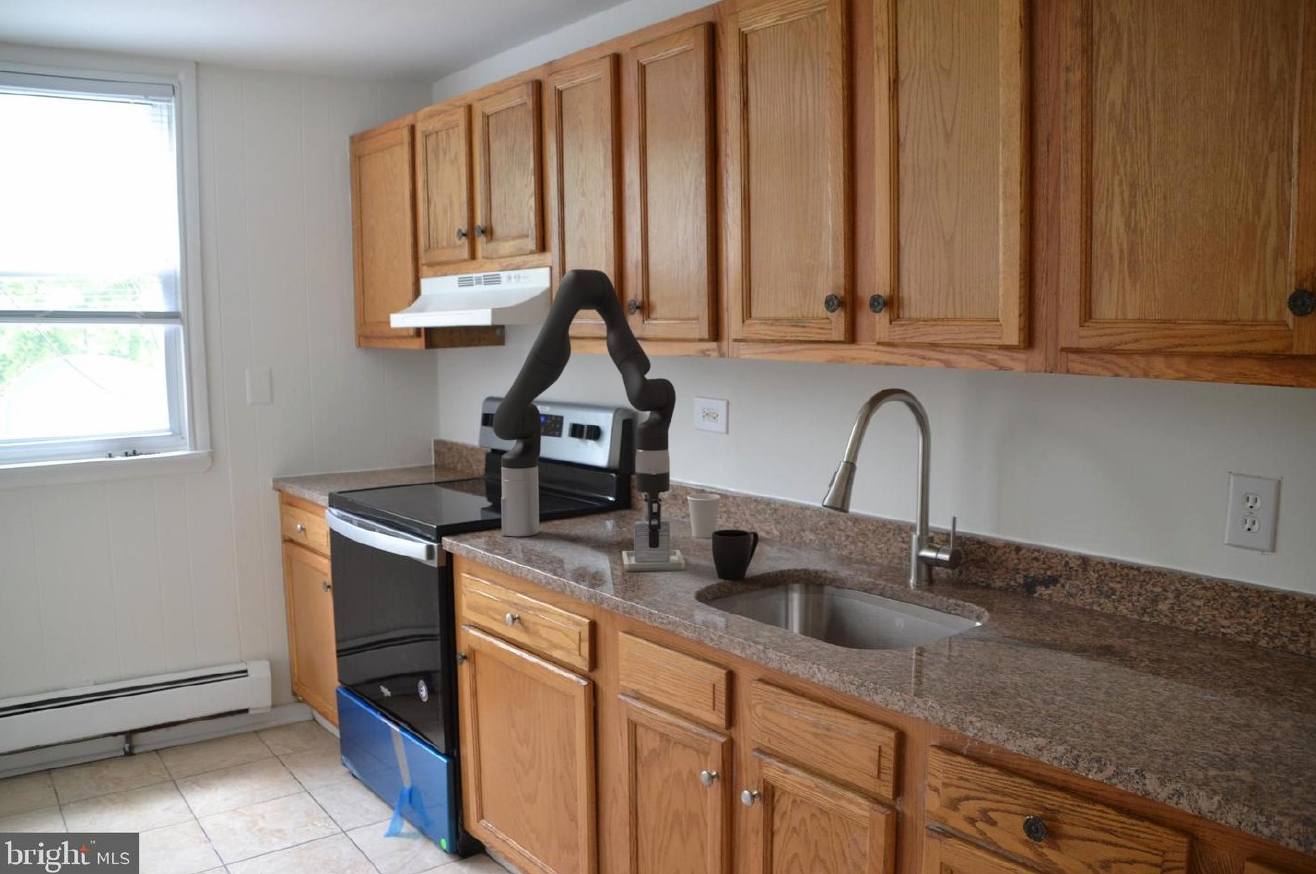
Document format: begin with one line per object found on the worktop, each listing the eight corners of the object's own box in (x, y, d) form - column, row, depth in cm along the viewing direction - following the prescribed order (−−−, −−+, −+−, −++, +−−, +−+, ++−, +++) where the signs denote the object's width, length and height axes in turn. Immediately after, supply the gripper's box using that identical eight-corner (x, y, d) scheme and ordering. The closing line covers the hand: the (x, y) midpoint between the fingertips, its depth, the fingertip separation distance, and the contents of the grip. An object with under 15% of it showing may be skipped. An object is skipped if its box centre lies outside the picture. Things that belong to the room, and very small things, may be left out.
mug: (771, 575, 225) (771, 531, 224) (731, 584, 217) (731, 538, 216) (743, 568, 231) (743, 525, 230) (703, 577, 223) (703, 532, 222)
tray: (625, 571, 229) (625, 564, 229) (622, 558, 242) (622, 551, 242) (685, 570, 230) (685, 562, 230) (679, 556, 243) (679, 550, 243)
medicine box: (670, 559, 238) (670, 520, 237) (670, 563, 233) (670, 524, 233) (635, 559, 238) (634, 520, 237) (634, 563, 234) (634, 524, 233)
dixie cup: (710, 540, 261) (710, 500, 260) (681, 536, 265) (681, 497, 264) (726, 534, 268) (726, 495, 267) (697, 531, 272) (697, 492, 271)
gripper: (633, 465, 240) (634, 538, 242) (637, 474, 226) (637, 551, 228) (666, 464, 241) (666, 537, 243) (672, 473, 227) (672, 551, 228)
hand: (652, 544), depth 235 cm, fingers open, 6 cm apart
